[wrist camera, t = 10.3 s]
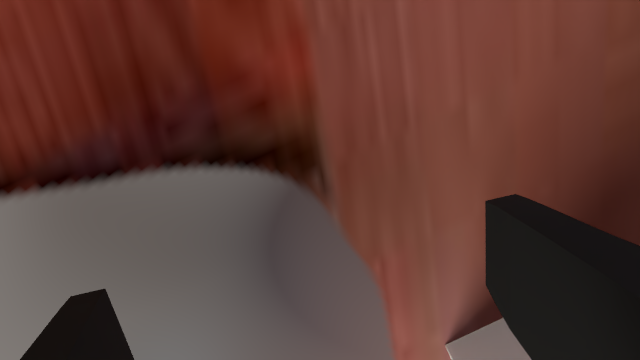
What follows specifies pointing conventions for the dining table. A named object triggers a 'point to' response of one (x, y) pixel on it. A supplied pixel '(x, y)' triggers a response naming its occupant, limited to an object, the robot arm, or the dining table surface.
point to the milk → (488, 344)
